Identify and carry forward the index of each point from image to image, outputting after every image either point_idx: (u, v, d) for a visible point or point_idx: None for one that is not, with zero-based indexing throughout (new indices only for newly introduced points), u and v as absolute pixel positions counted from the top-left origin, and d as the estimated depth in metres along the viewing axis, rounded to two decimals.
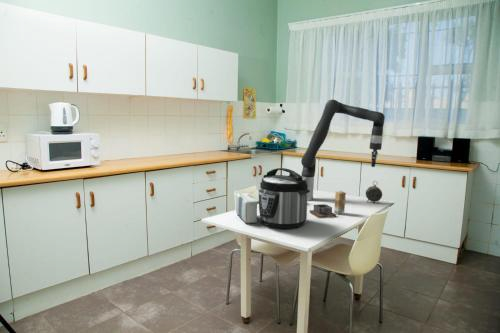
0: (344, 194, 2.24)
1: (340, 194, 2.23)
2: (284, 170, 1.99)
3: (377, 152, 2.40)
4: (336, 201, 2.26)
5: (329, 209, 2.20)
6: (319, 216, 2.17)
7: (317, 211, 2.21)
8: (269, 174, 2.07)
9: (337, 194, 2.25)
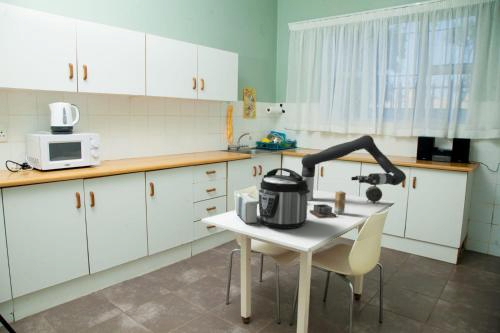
0: (344, 194, 2.24)
1: (340, 194, 2.23)
2: (284, 170, 1.99)
3: None
4: (336, 201, 2.26)
5: (329, 209, 2.20)
6: (319, 216, 2.17)
7: (317, 211, 2.21)
8: (269, 174, 2.07)
9: (337, 194, 2.25)
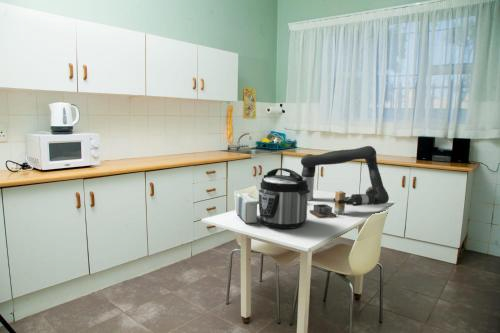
0: (344, 194, 2.24)
1: (340, 194, 2.23)
2: (284, 170, 1.99)
3: None
4: (336, 201, 2.26)
5: (329, 209, 2.20)
6: (319, 216, 2.17)
7: (317, 211, 2.21)
8: (269, 174, 2.07)
9: (337, 194, 2.25)
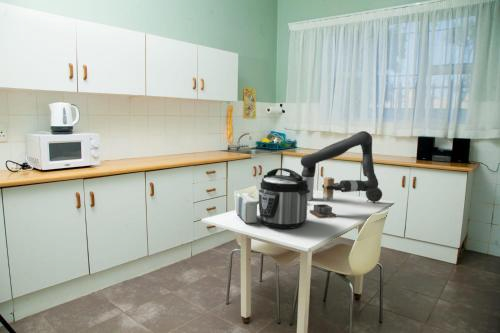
0: (333, 180, 2.20)
1: (328, 180, 2.19)
2: (284, 170, 1.99)
3: None
4: (325, 187, 2.22)
5: (329, 209, 2.20)
6: (319, 216, 2.17)
7: (317, 211, 2.21)
8: (269, 174, 2.07)
9: (325, 180, 2.21)
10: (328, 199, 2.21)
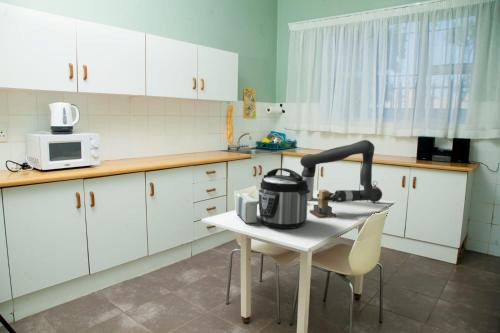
0: (327, 192, 2.20)
1: (323, 192, 2.20)
2: (284, 170, 1.99)
3: None
4: (319, 199, 2.23)
5: (329, 209, 2.20)
6: (319, 216, 2.17)
7: (317, 211, 2.21)
8: (269, 174, 2.07)
9: (320, 192, 2.21)
10: None
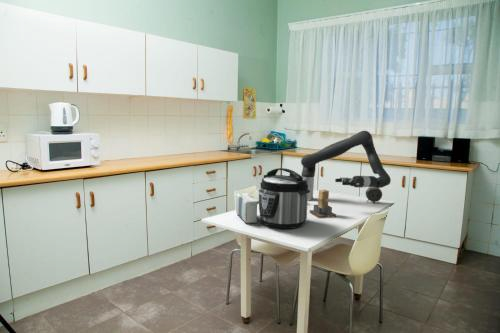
0: (327, 192, 2.20)
1: (323, 192, 2.20)
2: (284, 170, 1.99)
3: None
4: (319, 199, 2.23)
5: (329, 209, 2.20)
6: (319, 216, 2.17)
7: (317, 211, 2.21)
8: (269, 174, 2.07)
9: (320, 192, 2.21)
10: None
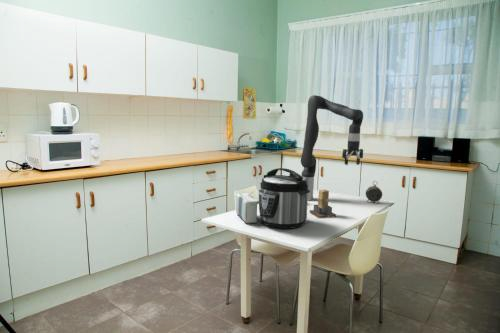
0: (327, 192, 2.20)
1: (323, 192, 2.20)
2: (284, 170, 1.99)
3: (355, 150, 2.33)
4: (319, 199, 2.23)
5: (329, 209, 2.20)
6: (319, 216, 2.17)
7: (317, 211, 2.21)
8: (269, 174, 2.07)
9: (320, 192, 2.21)
10: None
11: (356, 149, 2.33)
